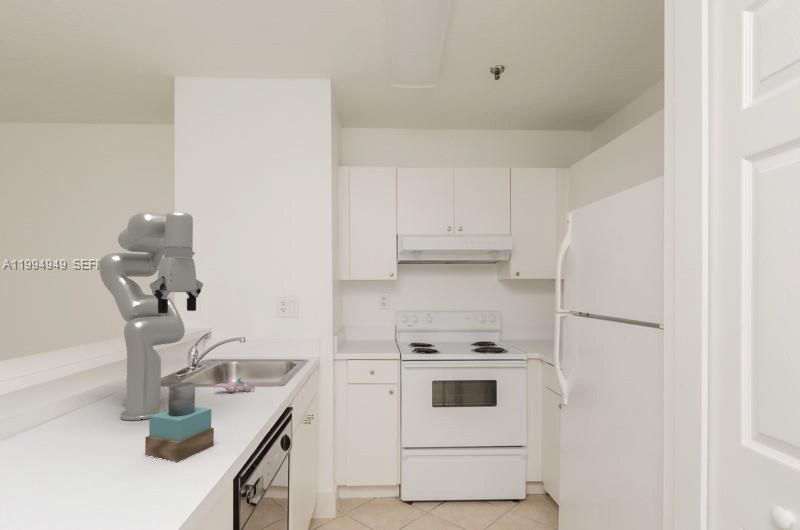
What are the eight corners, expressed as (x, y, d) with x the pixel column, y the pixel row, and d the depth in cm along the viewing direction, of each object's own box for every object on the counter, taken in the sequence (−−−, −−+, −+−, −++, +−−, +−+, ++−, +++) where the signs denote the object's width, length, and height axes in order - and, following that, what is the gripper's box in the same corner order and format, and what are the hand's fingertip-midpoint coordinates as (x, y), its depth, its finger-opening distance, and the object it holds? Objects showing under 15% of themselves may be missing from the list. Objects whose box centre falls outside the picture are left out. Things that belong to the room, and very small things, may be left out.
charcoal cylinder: (162, 415, 107) (163, 387, 107) (182, 408, 112) (182, 381, 113) (180, 417, 105) (181, 389, 105) (199, 410, 110) (200, 383, 111)
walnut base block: (145, 457, 105) (145, 437, 105) (182, 441, 115) (182, 423, 116) (177, 464, 101) (178, 442, 101) (213, 447, 111) (213, 428, 112)
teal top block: (149, 436, 106) (149, 416, 106) (182, 423, 115) (183, 405, 115) (179, 441, 102) (179, 420, 102) (211, 428, 112) (211, 408, 112)
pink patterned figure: (253, 392, 170) (214, 389, 166) (256, 377, 171) (216, 374, 166) (253, 396, 164) (211, 393, 160) (256, 381, 165) (214, 377, 160)
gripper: (193, 256, 135) (192, 309, 135) (142, 252, 119) (141, 313, 119) (211, 255, 132) (210, 310, 132) (161, 252, 116) (160, 314, 116)
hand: (177, 311), depth 125 cm, fingers open, 9 cm apart
